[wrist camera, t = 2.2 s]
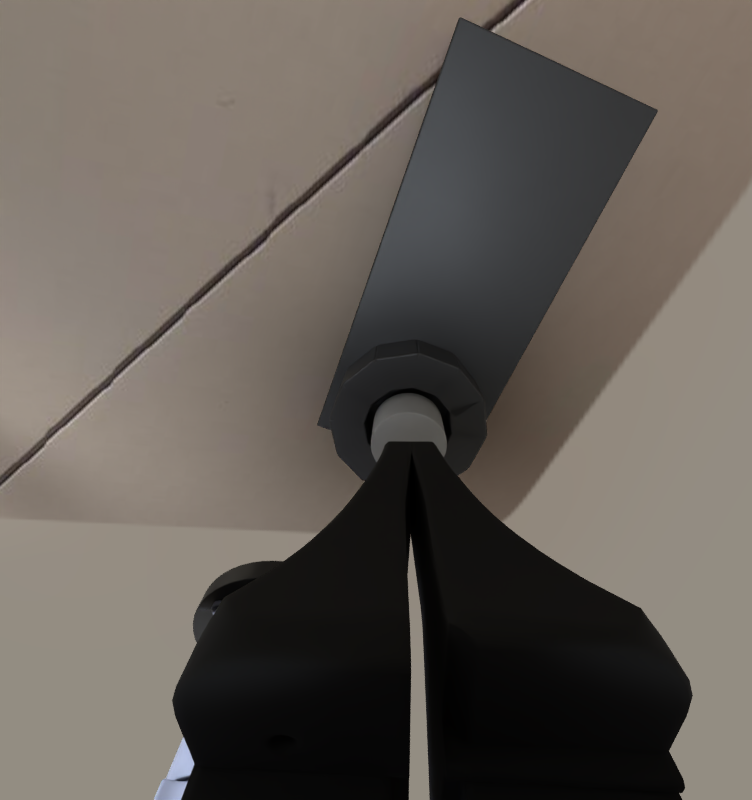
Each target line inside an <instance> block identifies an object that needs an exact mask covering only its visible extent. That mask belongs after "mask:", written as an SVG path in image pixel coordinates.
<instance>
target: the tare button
mask: <svg viewBox="0 0 752 800" xmlns="http://www.w3.org/2000/svg"><path fill="white" fill-rule="evenodd" d="M389 441H430V442H433V443H434V444H435V445H436V446H437V448H438V449H439V451H440V452H441V454H442V456H443V457H444V456H445V453H446V449H447V440H446V435H445V431H444V426H443V422H442V417H441V414H440V411H439V410H438V408H437V407H436V405H435V404H434V403H433V402H432V401H431V400H429V399H428V398H426V397H424V396H422V395H419V394H414V393H402V394H397V395H394V396H392V397H390V398H388V399H387V400H385V401H384V402H383V403H382V404H381V405H380V406H379V408H378V409H377V411H376V413H375V416H374V422H373V430H372V437H371V451H372V454H373V456H374V459H375V460H376V462H377V461H378V459H379V458H380V456H381V453H382V451H383V449H384V446H385V444H386V443H387V442H389Z"/></svg>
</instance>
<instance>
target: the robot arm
mask: <svg viewBox="0 0 752 800" xmlns="http://www.w3.org/2000/svg"><path fill="white" fill-rule="evenodd" d="M410 534H411V539H412V546H413V554H414V561H415V568H416V576H417V583H418V590H419V597H420V604H421V614H422V624H423V645H424V667H425V690H426V714H427V739H428V764H429V790H430V800H682V798H681V796H680V794H679V793H682V792H683V791H684V789H685V785H684V780H683V778H682V776H681V774H680V772H679V770H678V768H677V766H676V764H675V762H674V760H673V758H672V756H671V754H670V752H669V750H670V748H671V746H672V743H673V742H674V740H675V738H676V736H677V734H678V732H679V730H680V728H681V726H682V724H683V722H684V720H685V718H686V716H687V713H688V710H689V707H690V703H691V699H692V696H693V695H692V691H691V686H690V681H689V679H688V677H687V676H686V674H685V672H684V671H683V669H682V668H681V666H680V665H679V663H678V661H677V660H676V658H675V657H674V655H673V653H672V652H671V650H670V649H669V647H668V646H667V644H666V642H665V641H664V640H663V638H662V636H661V635H660V634H659V632H658V631H657V630H656V628H655V627H654V626H653V624H652V623H651V622H650V621H649V619H648V618H647V616H646V615H645V613H644V612H643V611H642V609H641V608H639V607H637V606H635V605H633V604H631V603H630V602H628V601H625V600H624V599H622V598H620V597H618V596H616V595H614V594H612V593H610V592H608V591H606V590H605V589H603V588H601V587H599V586H597V585H595V584H593V583H591V582H589V581H587V580H586V579H584V578H582V577H580V576H579V575H577V574H575V573H574V572H572V571H570V570H569V569H567V568H566V567H564V566H562V565H561V564H559V563H557V562H556V561H554V560H553V559H551V558H550V557H548V556H546V555H545V554H544V553H542V552H540V551H539V550H538V549H536V548H535V547H533V546H532V545H531V544H529V543H528V542H527V541H525V540H524V539H523V538H521V537H520V536H518V535H517V534H516V533H515V532H513V531H512V530H511V529H509V528H508V527H507V526H506V525H505V524H504V523H502V522H501V521H500V520H499V519H498V518H497V517H495V516H494V515H493V514H492V513H491V512H490V511H489V510H488V509H487V508H486V507H485V506H484V505H483V504H482V503H481V502H480V501H479V500H478V499H477V498H476V497H475V496H474V495H473V494H472V492H471V491H470V490H469V489H468V488H467V487H466V486H465V484H464V483H463V482H462V481H461V480H460V478H459V477H458V476H457V475H456V473H455V472H454V471H453V470H452V468H451V467H450V466H449V464H448V463H447V461H446V460H445V459H444V457H443V456H442V454H441V452H440V451H439V449H438V448H437V446H436V445H435V444H434V443H433V442H430V441H389V442H387V443H386V444H385V446H384V449H383V451H382V453H381V456H380V458H379V459H378V461H377V463H376V465H375V466H374V468H373V470H372V471H371V473H370V474H369V476H368V477H367V479H366V481H365V482H364V483H363V485H362V486H361V487H360V489H359V490H358V491H357V493H356V494H355V495H354V497H353V498H352V499H351V500H350V502H349V503H348V504H347V505H346V506H345V507H344V509H343V510H342V511H341V512H340V513H339V514H338V515H337V516H336V517H335V518H334V519H333V520H332V521H331V522H330V523H329V524H328V525H327V526H326V527H325V528H324V529H323V530H322V531H321V532H320V533H319V534H317V535H316V536H315V537H314V538H313V539H312V540H311V541H310V542H308V543H307V544H306V545H305V546H304V547H302V548H301V549H300V550H298V551H297V552H296V553H294V554H293V555H292V556H290V557H289V558H288V559H286V560H285V561H283V562H282V563H281V564H279V565H278V566H276V567H275V568H273V569H272V570H270V571H269V572H267V573H265V574H264V575H262V576H260V577H259V578H257V579H255V580H254V581H252V582H250V583H249V584H247V585H245V586H243V587H242V588H240V589H238V590H237V591H235V592H233V593H231V594H229V595H228V596H226V597H224V598H223V600H218V601H215V602H214V603H213V605H212V607H211V610H212V613H213V616H212V618H211V619H210V621H209V622H208V624H207V626H206V628H205V629H204V631H203V633H202V634H201V636H200V638H199V640H198V642H197V644H196V646H195V648H194V650H193V653H192V655H191V657H190V659H189V661H188V663H187V665H186V667H185V669H184V671H183V674H182V675H181V677H180V680H179V682H178V684H177V686H176V689H175V693H174V696H173V700H172V701H173V707H174V712H175V716H176V719H177V721H178V724H179V727H180V729H181V732H182V734H183V739H182V741H181V744H180V746H179V749H178V751H177V753H176V756H175V758H174V760H173V763H172V765H171V768H170V770H169V772H168V775H167V777H166V779H163V780H162V781H161V784H160V786H159V789H158V791H157V793H156V795H155V798H154V800H409V763H410V759H409V758H410V702H411V648H410V620H409V601H408V600H409V599H408V578H407V573H408V560H409V547H410Z"/></svg>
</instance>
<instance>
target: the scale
mask: <svg viewBox="0 0 752 800" xmlns="http://www.w3.org/2000/svg"><path fill="white" fill-rule="evenodd" d="M657 111H658V110H657V109H654V108H652V107H650V106H648V105H646V104H644V103H642V102H640V101H637V100H635V99H633V98H631V97H629V96H627V95H625V94H623V93H620V92H618V91H616V90H614V89H612V88H610V87H608V86H606V85H603V84H601V83H599V82H597V81H595V80H593V79H591V78H589V77H586V76H584V75H582V74H580V73H578V72H576V71H574V70H572V69H570V68H567V67H565V66H563V65H561V64H559V63H557V62H555V61H553V60H550V59H548V58H546V57H544V56H542V55H540V54H538V53H536V52H533V51H531V50H529V49H527V48H525V47H523V46H521V45H519V44H516V43H514V42H512V41H510V40H508V39H506V38H504V37H502V36H499V35H497V34H495V33H493V32H491V31H489V30H487V29H485V28H482V27H480V26H478V25H476V24H474V23H472V22H470V21H468V20H466V19H463V18H461V17H460V18H459V19H458V22H457V25H456V28H455V31H454V34H453V37H452V39H451V42H450V45H449V48H448V51H447V54H446V57H445V60H444V62H443V65H442V68H441V71H440V74H439V77H438V80H437V82H436V85H435V88H434V91H433V94H432V97H431V100H430V103H429V105H428V108H427V111H426V114H425V117H424V120H423V123H422V126H421V128H420V131H419V134H418V137H417V140H416V143H415V146H414V148H413V151H412V154H411V157H410V160H409V163H408V166H407V169H406V171H405V174H404V177H403V180H402V183H401V186H400V189H399V192H398V194H397V197H396V200H395V203H394V206H393V209H392V212H391V215H390V217H389V220H388V223H387V226H386V229H385V232H384V235H383V237H382V240H381V243H380V246H379V249H378V252H377V255H376V258H375V260H374V263H373V266H372V269H371V272H370V275H369V278H368V281H367V283H366V286H365V289H364V292H363V295H362V298H361V301H360V303H359V306H358V309H357V312H356V315H355V318H354V321H353V324H352V326H351V329H350V332H349V335H348V338H347V341H346V344H345V347H344V349H343V352H342V355H341V358H340V361H339V364H338V367H337V369H336V372H335V375H334V378H333V381H332V384H331V387H330V390H329V392H328V395H327V398H326V401H325V404H324V407H323V410H322V413H321V415H320V418H319V421H318V426H320V427H323V428H326V429H329V430H331V431H332V435H333V439H334V443H335V447H336V451H337V454H338V456H339V457H340V458H341V459H342V460H343V461H344V462H345V463H346V464H347V465H348V466H349V467H350V468H351V469H352V470H353V471H354V472H355V473H356V474H357V475H358V476H359V477H360V478H361V479H362V480H365V481H366V479H367V477H368V476H369V474H370V473H371V471H372V470H373V468H374V466H375V465H376V463H377V462H376V460H375V459H374V456H373V454H372V451H371V437H372V430H373V422H374V416H375V413H376V411H377V409H378V408H379V406H380V405H381V404H382V403H383V402H384V401H385V400H387V399H388V398H390V397H392V396H394V395H397V394H402V393H414V394H419V395H422V396H424V397H426V398H428V399H429V400H431V401H432V402H433V403H434V404H435V405H436V407H437V408H438V410H439V411H440V414H441V417H442V422H443V426H444V431H445V435H446V440H447V449H446V453H445V456H444V459H445V460H446V461H447V463H448V464H449V466H450V467H451V468H452V470H453V471H454V472H455V473H456V475H457V476H458V475H459V474H461V473H462V472H464V471H466V470H467V469H468V468H469V467H470V465H471V464H472V462H473V460H474V458H475V457H476V455H477V453H478V451H479V450H480V448H481V446H482V444H483V443H484V441H485V439H486V436H487V426H486V420H487V418H488V416H489V414H490V413H491V411H492V409H493V407H494V405H495V404H496V402H497V400H498V398H499V396H500V395H501V393H502V391H503V389H504V387H505V386H506V384H507V382H508V380H509V378H510V377H511V375H512V373H513V371H514V369H515V368H516V366H517V364H518V362H519V360H520V359H521V357H522V355H523V353H524V351H525V350H526V348H527V346H528V344H529V342H530V341H531V339H532V337H533V335H534V333H535V332H536V330H537V328H538V326H539V324H540V322H541V321H542V319H543V317H544V315H545V313H546V312H547V310H548V308H549V306H550V304H551V303H552V301H553V299H554V297H555V295H556V294H557V292H558V290H559V288H560V286H561V285H562V283H563V281H564V279H565V277H566V276H567V274H568V272H569V270H570V268H571V267H572V265H573V263H574V261H575V259H576V258H577V256H578V254H579V252H580V250H581V249H582V247H583V245H584V243H585V241H586V240H587V238H588V236H589V234H590V232H591V231H592V229H593V227H594V225H595V223H596V222H597V220H598V218H599V216H600V214H601V213H602V211H603V209H604V207H605V205H606V204H607V202H608V200H609V198H610V196H611V195H612V193H613V191H614V189H615V187H616V186H617V184H618V182H619V180H620V178H621V177H622V175H623V173H624V171H625V169H626V168H627V166H628V164H629V162H630V160H631V159H632V157H633V155H634V153H635V151H636V150H637V148H638V146H639V144H640V142H641V141H642V139H643V137H644V135H645V133H646V132H647V130H648V128H649V126H650V124H651V123H652V121H653V119H654V117H655V115H656V113H657Z"/></svg>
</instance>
